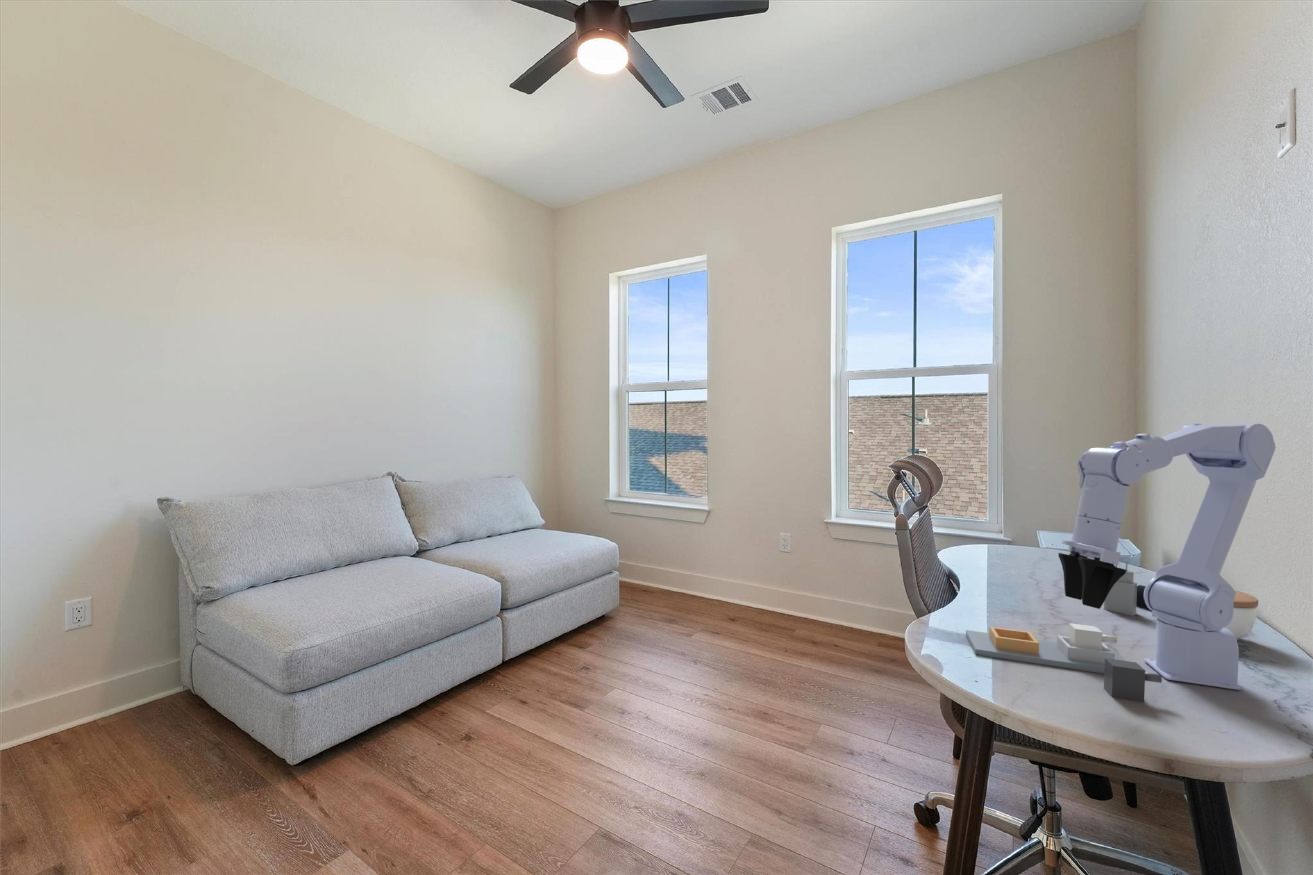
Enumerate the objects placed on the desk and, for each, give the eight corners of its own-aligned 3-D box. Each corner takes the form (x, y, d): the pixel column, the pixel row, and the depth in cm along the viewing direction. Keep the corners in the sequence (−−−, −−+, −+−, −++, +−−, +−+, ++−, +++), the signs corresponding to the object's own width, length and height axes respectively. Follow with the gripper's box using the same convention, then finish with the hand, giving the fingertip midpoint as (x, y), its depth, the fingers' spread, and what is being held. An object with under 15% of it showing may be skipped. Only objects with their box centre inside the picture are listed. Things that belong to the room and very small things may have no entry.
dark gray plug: (1154, 696, 84) (1155, 665, 84) (1163, 705, 81) (1165, 673, 81) (1103, 688, 86) (1104, 658, 86) (1111, 697, 84) (1112, 665, 83)
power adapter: (1132, 616, 121) (1134, 563, 120) (1102, 609, 125) (1104, 558, 125) (1137, 613, 122) (1138, 561, 122) (1107, 606, 127) (1108, 556, 127)
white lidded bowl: (1243, 653, 101) (1246, 595, 101) (1157, 630, 112) (1159, 578, 112) (1266, 641, 107) (1268, 586, 107) (1181, 620, 118) (1183, 571, 118)
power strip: (1113, 655, 99) (1114, 623, 99) (1139, 678, 90) (1140, 643, 90) (965, 634, 108) (966, 605, 108) (975, 654, 99) (976, 622, 98)
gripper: (1054, 512, 95) (1038, 587, 95) (1086, 515, 82) (1068, 602, 81) (1102, 522, 92) (1086, 599, 92) (1143, 527, 79) (1125, 617, 79)
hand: (1081, 602), depth 87 cm, fingers open, 7 cm apart
